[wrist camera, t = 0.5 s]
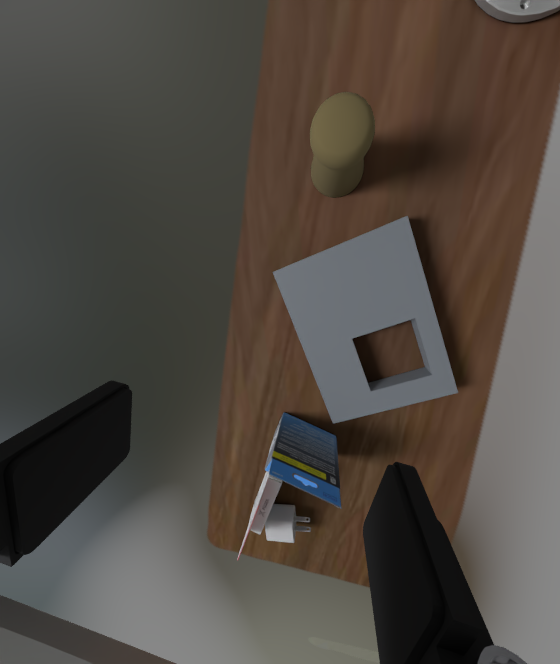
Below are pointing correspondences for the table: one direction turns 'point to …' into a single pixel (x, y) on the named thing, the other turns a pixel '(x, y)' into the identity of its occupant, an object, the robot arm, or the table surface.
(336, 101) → the cork
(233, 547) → the table surface
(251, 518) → the ink cartridge box
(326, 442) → the blue and white box
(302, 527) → the usb wall charger
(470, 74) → the table surface
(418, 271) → the socket board
